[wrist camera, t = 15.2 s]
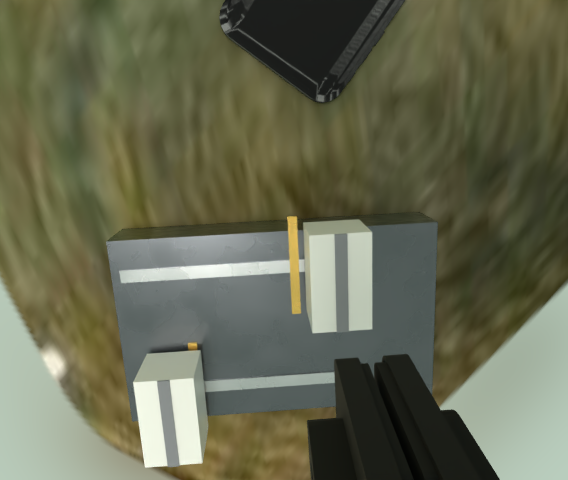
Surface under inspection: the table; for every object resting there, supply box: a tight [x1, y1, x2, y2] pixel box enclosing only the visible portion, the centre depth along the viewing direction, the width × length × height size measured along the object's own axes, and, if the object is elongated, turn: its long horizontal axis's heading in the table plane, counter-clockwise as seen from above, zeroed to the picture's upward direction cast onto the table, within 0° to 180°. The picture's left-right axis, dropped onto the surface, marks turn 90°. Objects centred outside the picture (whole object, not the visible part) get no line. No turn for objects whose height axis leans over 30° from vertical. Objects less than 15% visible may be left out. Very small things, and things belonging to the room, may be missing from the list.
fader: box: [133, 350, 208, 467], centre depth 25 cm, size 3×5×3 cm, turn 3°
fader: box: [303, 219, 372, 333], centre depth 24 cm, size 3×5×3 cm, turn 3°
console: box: [106, 212, 438, 421], centre depth 28 cm, size 18×13×3 cm
